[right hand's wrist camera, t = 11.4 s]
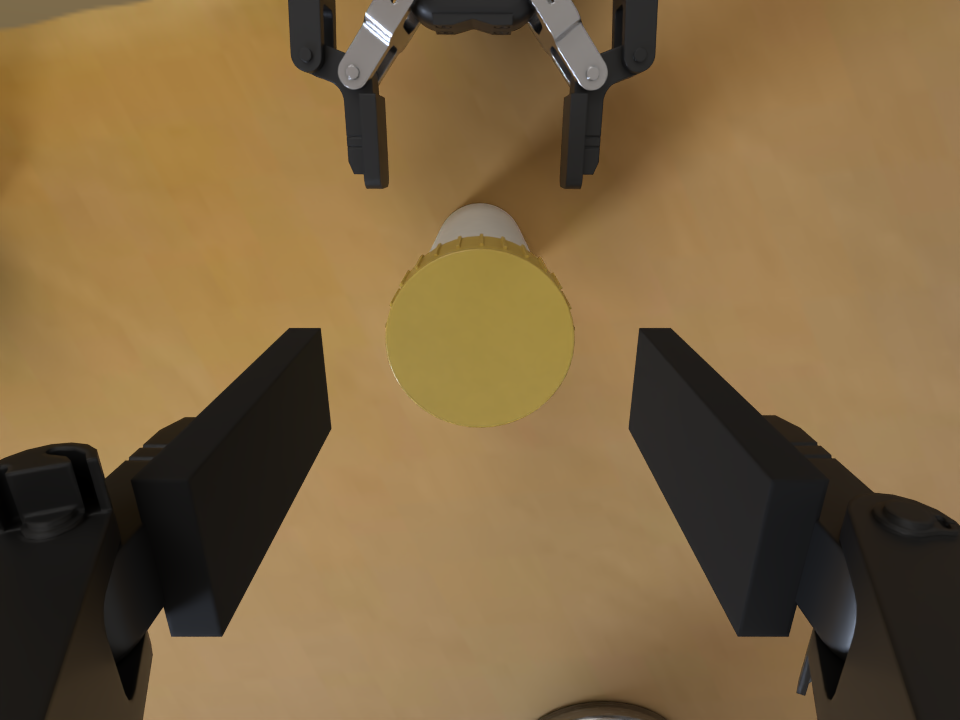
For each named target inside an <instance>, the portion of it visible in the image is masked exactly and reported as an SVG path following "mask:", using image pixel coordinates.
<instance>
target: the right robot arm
mask: <svg viewBox="0 0 960 720" xmlns="http://www.w3.org/2000/svg"><path fill="white" fill-rule="evenodd" d="M330 430H331V420H330V411H329V402H328V392H327V383H326V374H325V364H324V355H323V345H322V336H321V328H289V329H288V330H287V331H286V332H285V333H284V334H283V335H282V336H281V337H279V338H278V339H277V340H276V341H275V342H274V343H273V344H272V345H271V346H270V347H269V348H268V349H267V350H266V351H265V352H264V353H263V354H262V355H261V356H260V357H259V358H257V359H256V360H255V361H254V362H253V363H252V364H251V365H250V366H249V367H248V368H247V369H246V370H245V371H244V372H243V373H242V374H241V375H240V376H239V377H238V378H237V379H236V380H234V381H233V382H232V383H231V384H230V385H229V386H228V387H227V388H226V389H225V390H224V391H223V392H222V393H221V394H220V395H219V396H218V397H217V398H216V399H215V400H214V401H213V402H211V403H210V404H209V405H208V406H207V407H206V408H205V409H204V410H203V411H202V412H201V413H200V414H199V415H198V416H197V417H185V418H183V419H181V420H179V421H177V422H175V423H173V424H171V425H169V426H167V427H165V428H163V429H161V430H159V431H158V432H157V433H156V434H155V435H154V436H153V437H152V438H150V439H149V440H148V441H147V442H146V443H145V444H144V445H143V448H139V449H138V450H137V451H136V452H135V453H133V454H132V455H131V456H130V457H129V461H124V462H123V463H122V464H121V465H120V466H119V467H118V468H117V469H115V470H114V471H113V472H112V473H111V474H110V475H109V476H108V477H106V478H105V477H104V474H103V470H102V466H101V463H100V459H99V456H98V452H97V449H95V448H93V447H91V446H90V445H88V444H80V443H61V444H51V445H46V446H42V447H37V448H33V449H28V450H25V451H22V452H20V453H17V454H14V455H11V456H8V457H6V458H3V459H1V460H0V720H143V715H144V708H145V702H146V695H147V689H148V682H149V676H150V669H151V663H152V656H153V653H152V647H151V641H150V638H149V634H148V631H147V630H148V628H149V627H150V626H151V624H152V623H153V621H154V620H155V618H156V617H157V615H158V614H159V612H160V611H161V610H162V608H163V607H164V610H165V614H166V618H167V622H168V626H169V629H170V633H171V637H222V636H223V634H224V632H225V630H226V628H227V626H228V624H229V623H230V621H231V619H232V617H233V615H234V613H235V611H236V609H237V607H238V605H239V604H240V602H241V600H242V598H243V596H244V594H245V592H246V590H247V588H248V586H249V584H250V583H251V581H252V579H253V577H254V575H255V573H256V571H257V569H258V567H259V565H260V564H261V562H262V560H263V558H264V556H265V554H266V552H267V550H268V548H269V546H270V545H271V543H272V541H273V539H274V537H275V535H276V533H277V531H278V529H279V527H280V525H281V524H282V522H283V520H284V518H285V516H286V514H287V512H288V510H289V508H290V506H291V505H292V503H293V501H294V499H295V497H296V495H297V493H298V491H299V489H300V487H301V486H302V484H303V482H304V480H305V478H306V476H307V474H308V472H309V470H310V468H311V466H312V465H313V463H314V461H315V459H316V457H317V455H318V453H319V451H320V449H321V447H322V446H323V444H324V442H325V440H326V438H327V436H328V434H329V432H330ZM629 430H630V432H631V434H632V436H633V438H634V440H635V442H636V444H637V446H638V447H639V449H640V451H641V453H642V455H643V457H644V459H645V461H646V463H647V465H648V466H649V468H650V470H651V472H652V474H653V476H654V478H655V480H656V482H657V484H658V486H659V487H660V489H661V491H662V493H663V495H664V497H665V499H666V501H667V503H668V505H669V506H670V508H671V510H672V512H673V514H674V516H675V518H676V520H677V522H678V524H679V525H680V527H681V529H682V531H683V533H684V535H685V537H686V539H687V541H688V543H689V545H690V546H691V548H692V550H693V552H694V554H695V556H696V558H697V560H698V562H699V564H700V565H701V567H702V569H703V571H704V573H705V575H706V577H707V579H708V581H709V583H710V584H711V586H712V588H713V590H714V592H715V594H716V596H717V598H718V600H719V602H720V604H721V605H722V607H723V609H724V611H725V613H726V615H727V617H728V619H729V621H730V623H731V624H732V626H733V628H734V630H735V632H736V634H737V636H738V637H789V633H790V629H791V626H792V622H793V618H794V614H795V610H796V606H797V605H798V606H799V608H800V609H801V611H802V612H803V614H804V615H805V617H806V618H807V620H808V621H809V622H810V624H811V625H812V627H813V631H812V634H811V638H810V641H809V645H808V648H807V652H806V656H805V659H804V663H803V666H802V670H801V673H800V677H799V681H798V687H797V693H798V694H801V695H806V691H807V688H808V684H809V683H810V682H812V687H813V694H814V700H815V707H816V713H817V720H960V525H959V524H958V523H957V522H956V521H954V520H953V519H951V518H949V517H948V516H946V515H945V514H943V513H942V512H940V511H938V510H936V509H934V508H932V507H929V506H927V505H925V504H922V503H920V502H918V501H915V500H911V499H907V498H904V497H900V496H896V495H891V494H881V493H874V492H873V491H871V490H870V489H869V488H868V487H867V486H866V485H865V484H864V483H862V482H861V481H860V480H859V479H858V478H857V477H856V476H854V475H853V474H852V473H851V472H850V471H849V470H848V469H846V468H845V467H844V466H843V465H842V464H841V463H840V462H839V461H837V460H836V459H835V458H831V454H829V453H828V452H827V451H826V450H825V449H824V448H823V447H822V446H818V445H817V442H816V441H815V440H814V439H812V438H811V437H810V436H809V435H808V434H807V433H806V432H804V431H803V430H802V429H801V428H799V427H798V426H796V425H794V424H792V423H790V422H788V421H786V420H784V419H782V418H780V417H778V416H776V415H761V414H760V413H759V412H758V411H757V410H756V409H755V408H754V407H753V406H752V405H751V404H750V403H749V402H747V401H746V400H745V399H744V398H743V397H742V396H741V395H740V394H739V393H738V392H737V391H736V390H735V389H734V388H733V387H732V386H731V385H730V384H729V383H728V382H727V381H726V380H724V379H723V378H722V377H721V376H720V375H719V374H718V373H717V372H716V371H715V370H714V369H713V368H712V367H711V366H710V365H709V364H708V363H707V362H706V361H705V360H704V359H703V358H701V357H700V356H699V355H698V354H697V353H696V352H695V351H694V350H693V349H692V348H691V347H690V346H689V345H688V344H687V343H686V342H685V341H684V340H683V339H682V338H681V337H679V336H678V335H677V334H676V333H675V332H674V331H673V330H672V329H671V328H639V336H638V345H637V355H636V364H635V374H634V383H633V392H632V402H631V411H630V420H629ZM539 720H666V719H665V718H663V717H662V716H660V715H658V714H656V713H654V712H652V711H650V710H647V709H645V708H642V707H639V706H635V705H630V704H625V703H618V702H591V703H583V704H578V705H573V706H569V707H566V708H562V709H560V710H557V711H554V712H552V713H550V714H548V715H546V716H544V717H542V718H540V719H539Z"/></svg>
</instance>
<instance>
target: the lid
mask: <svg viewBox="0 0 960 720" xmlns="http://www.w3.org/2000/svg"><path fill="white" fill-rule="evenodd" d="M399 286H400V287H401V289H398V291H397V293H396V294H395V296H394V298H393V300H392V301H391V303H390V306H391V309H390V312H389V316H388V320H387V323H386V326H385V327H386V350H387V357H388V360H389V363H390V367H391V369H392V372H393V374H394V376H395V378H396V380H397V381H398V383H399V385H400V386H401V388H402V389H403V390H404V392H405V393H406V394H407V395H408V397H409V398H410V399H412V400H413V401H414V402H415V403H416V404H417V405H418V406H419V407H421V408H422V409H423V410H425V411H426V412H428V413H429V414H431V415H433V416H435V417H436V418H439V419H441V420H444V421H446V422H449V423H452V424H456V425H460V426H466V427H479V428H483V427H494V426H500V425H505V424H508V423H511V422H514V421H517V420H519V419H521V418H523V417H526V416H527V415H529V414H531V413H532V412H534V411H536V410H537V409H538V408H539V407H541V406H542V405H543V404H544V403H546V402H547V401H548V400H549V398H550V397H551V396H552V395H553V394H554V393H555V392H556V390H557V389H558V388H559V386H560V385H561V383H562V381H563V380H564V378H565V376H566V374H567V372H568V369H569V367H570V364H571V360H572V356H573V351H574V342H575V341H574V330H575V327H574V325H573V319H572V316H571V312H570V309H571V306H570V304H569V302H568V301H567V299H566V297H565V295H564V293H563V292H562V291H561V290H560V289H562V287H561V285H560V283H559V281H558V280H557V278H556V276H555V275H554V273H550V272H549V270H548V269H547V267H546V265H545V264H544V262H543V260H542V258H541V257H538V258H537V257H536V256H535V255H533V254H532V253H531V252H529V251H528V250H526V247H525V245H523V244H522V245H521V246H519V245H517V244H515V243H513V242H510V241H507V240H505V237H503V236H502V237H501V238H496V237H490V236H483V234H480V236H471V237H464V238H462V236H458V239H455V240H453V241H450V242H447V243H445V244H443V245H442V244H441V243H439V244H438V245H437V247H436V248H435V249H434V250H432V251H431V252H429V253H428V254H427V255H425V256H424V255H422V256H420V258H419V260H418V262H417V264H416V265H415V267H414V268H413V269H412V270H411V272H410V271H409V270H408V272H407V273H406V275H405V277H404V278H403V280H402V282H401V283H400V285H399Z"/></svg>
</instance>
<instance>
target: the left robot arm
mask: <svg viewBox="0 0 960 720" xmlns="http://www.w3.org/2000/svg"><path fill="white" fill-rule="evenodd" d="M288 6H289V27H290V47H291V58H292V61H293V63H294V64H295V66H296V67H297V68H298V69H300V70H302V71H304V72H307V73H310V74H312V75H314V76H316V77H319V78H322V79H325V80H327V81H330V82H332V83H334V84H335V85H336V86H337V87H338V88H339V89H340V91H341V92H342V95H343V98H344V106H345V119H346V133H347V146H348V159H349V164H350V166H351V168H352V170H353V172H354V174H364V181H365V186H366V188H367V189H383V188H386V187H388V184H389V171H388V151H387V131H386V112H385V98H384V97H382V96H380V95H379V84H380V83H381V81H382V80H383V78H384V76H385V75H386V73H387V72H388V70H389V68H390V67H391V65H392V64H393V62H394V61H395V59H396V57H397V56H398V55H399V54H400V53H401V52H402V51H403V50H404V49H405V47H406V46H407V44H408V43H409V41H410V40H411V38H412V37H413V35H414V33H415V32H416V30H417V29H418V27H419V26H420V24H422V25H424V26H425V27H427V28H429V29H431V30H434V31H436V33H437V34H447V35H455V34H458V33H462V32H465V31H468V30H472V29H476V30H479V31H482V32H486V33H489V34H492V35H511V31H514V30H517V29H519V28H521V27H522V26H524V25H525V24H526V23H527V24H528V25H529V27H530V29H531V30H532V32H533V33H534V35H535V37H536V38H537V40H538V41H539V43H540V45H541V46H542V48H543V49H544V50H545V52H546V53H547V54H549V56H550V57H551V58H552V60H553V62H554V63H555V65H556V66H557V68H558V69H559V71H560V73H561V74H562V76H563V77H564V79H565V81H566V82H567V84H568V85H569V87H570V94H569V95H568V96H566V97H565V98H564V108H563V127H562V145H561V164H560V187H562V188H563V189H581V186H582V178H583V174H588V175H593V173H594V171H595V169H596V167H597V165H598V162H599V150H600V148H599V147H600V136H601V124H602V111H603V100H604V96H605V93H606V91H607V90H608V89H609V87H610V86H611V85H613V84H615V83H617V82H620V81H622V80H625V79H628V78H631V77H633V76H635V75H637V74H639V73H641V72H643V71H645V70H647V69H648V68H649V67H650V66H651V65H652V63H653V61H654V58H655V49H656V29H657V9H658V0H613V19H612V49H611V50H609V51H606V52H603V53H601V54H600V53H599V52H598V50H597V48H596V47H595V45H594V43H593V42H592V40H591V38H590V37H589V35H588V33H587V32H586V30H585V28H584V27H583V25H582V22H581V18H580V15H579V13H578V11H577V9H576V7H575V6H574V4H573V2H572V0H552V1H551V0H396V2H395V3H393V0H373V1H372V3H371V4H370V6H369V8H368V10H367V12H366V14H365V17H364V22H363V25H362V27H361V28H360V30H359V32H358V33H357V35H356V37H355V38H354V40H353V42H352V43H351V45H350V47H349V48H348V50H347V52H346V53H344V52H341V51H339V50H336V8H335V0H288ZM406 18H407V19H406Z"/></svg>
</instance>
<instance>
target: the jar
mask: <svg viewBox="0 0 960 720" xmlns="http://www.w3.org/2000/svg"><path fill="white" fill-rule="evenodd" d="M480 234H483V236H490V237H496V238H501V237H502V236H503V237H505V240H507V241H510V242H513V243H515V244H517V245H519V246H521V245H522V244H523V245H525V247H526V250H528V251H529V252H530V250H529V248H528V246H527V244H526V242H525V240H524V237H523V235H522V233H521V231H520V229H519V227H518V225H517V223H516V222H515V220H514V219H513V218H512V217H511V216H510V215H509V214H508V213H507V212H505V211H504V210H502V209H501V208H499V207H497V206H494V205H491V204H485V203H475V204H470V205H466V206H463V207H461V208H459V209H457V210H456V211H455V212H453V213H452V214H451V215H450V216H449V217H448V218H447V219H446V220H445V222H444V223H443V225H442V227H441V229H440V231H439V233H438V235H437V237H436V239H435V242H434V244H433V246H432V248H431V250H430V252H431V251H432V250H434V249H435V248H436V247H437V245H438V244H439V243H441V244H442V245H443V244H445V243H447V242H450V241H453V240H455V239H458V236H462V238H464V237H471V236H480Z"/></svg>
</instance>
